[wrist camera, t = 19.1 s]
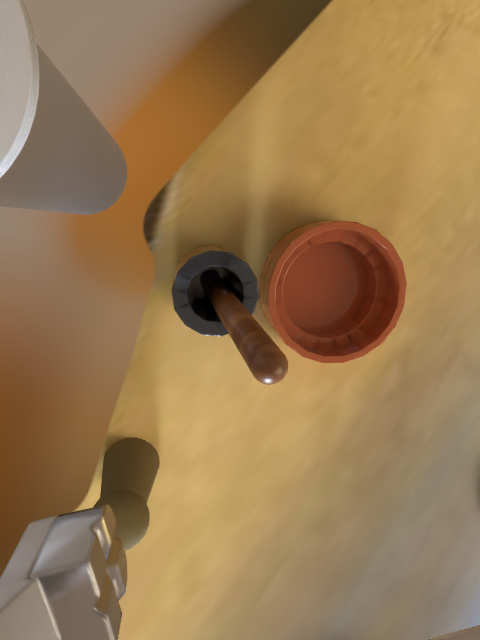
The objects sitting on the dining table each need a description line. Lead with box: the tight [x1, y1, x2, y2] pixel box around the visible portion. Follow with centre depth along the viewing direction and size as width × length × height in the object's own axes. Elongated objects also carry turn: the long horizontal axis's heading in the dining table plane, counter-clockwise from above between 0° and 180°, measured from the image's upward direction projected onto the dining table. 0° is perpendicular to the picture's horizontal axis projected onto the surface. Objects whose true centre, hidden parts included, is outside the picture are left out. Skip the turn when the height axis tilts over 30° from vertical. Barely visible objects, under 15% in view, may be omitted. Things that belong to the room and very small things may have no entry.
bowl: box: [259, 221, 407, 363], centre depth 42 cm, size 13×13×6 cm
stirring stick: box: [200, 272, 288, 385], centre depth 32 cm, size 2×2×22 cm
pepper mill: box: [93, 438, 159, 550], centre depth 41 cm, size 6×6×11 cm
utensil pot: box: [172, 245, 259, 336], centre depth 38 cm, size 7×7×10 cm
